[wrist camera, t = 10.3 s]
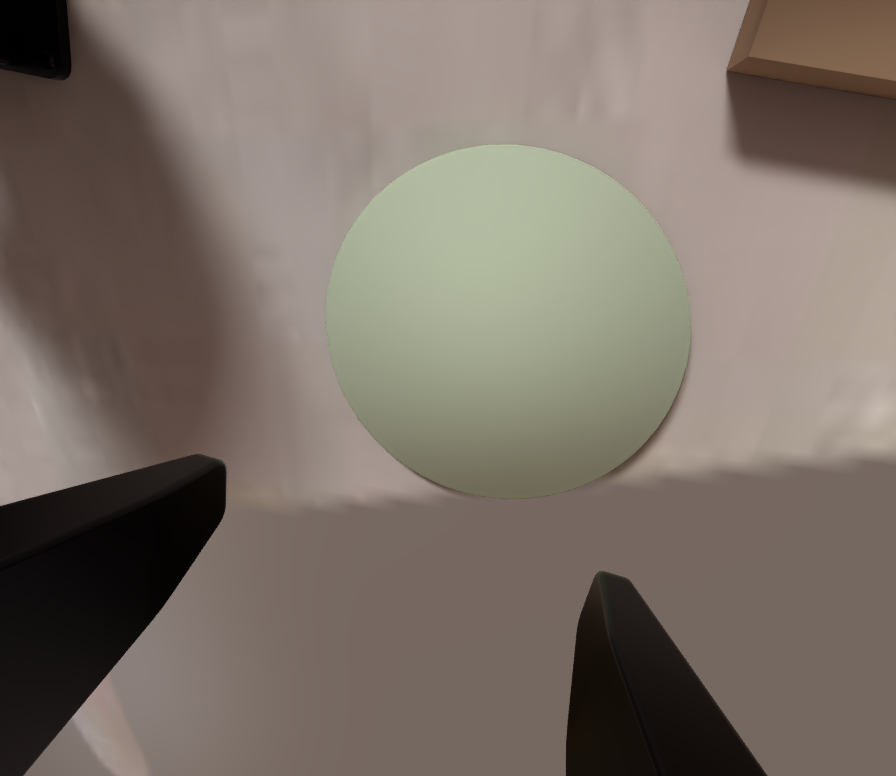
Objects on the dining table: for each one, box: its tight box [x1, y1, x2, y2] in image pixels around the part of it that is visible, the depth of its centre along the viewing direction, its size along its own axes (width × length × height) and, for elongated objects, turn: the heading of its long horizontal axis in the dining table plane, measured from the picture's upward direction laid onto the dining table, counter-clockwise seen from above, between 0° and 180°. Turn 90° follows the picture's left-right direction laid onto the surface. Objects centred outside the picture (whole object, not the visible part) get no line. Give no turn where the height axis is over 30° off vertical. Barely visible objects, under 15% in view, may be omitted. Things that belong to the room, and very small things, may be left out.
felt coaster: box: [326, 144, 691, 499], centre depth 17 cm, size 11×11×1 cm
